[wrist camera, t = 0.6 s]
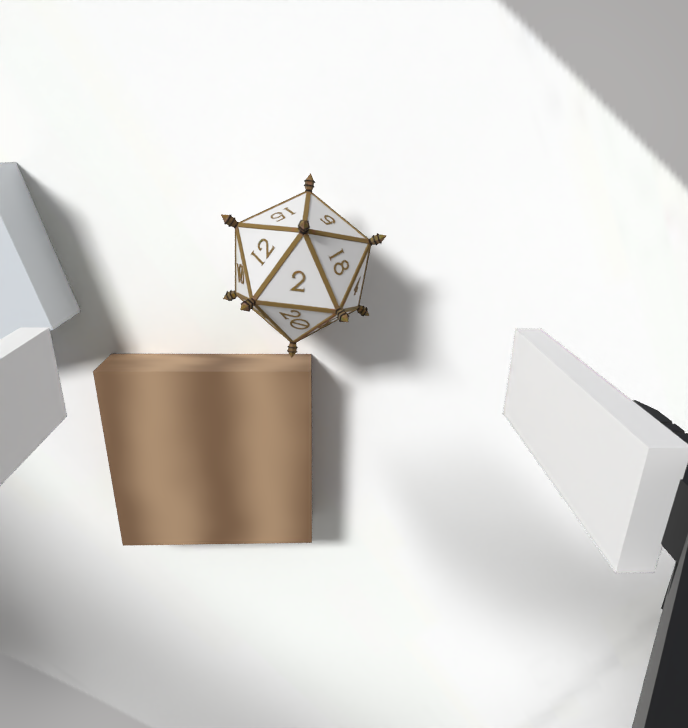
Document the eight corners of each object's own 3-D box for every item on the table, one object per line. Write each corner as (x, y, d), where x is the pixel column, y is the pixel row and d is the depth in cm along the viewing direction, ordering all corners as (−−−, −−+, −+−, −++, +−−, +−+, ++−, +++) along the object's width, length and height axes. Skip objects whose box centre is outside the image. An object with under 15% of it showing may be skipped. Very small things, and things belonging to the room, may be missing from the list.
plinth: (136, 517, 39) (122, 545, 36) (111, 353, 34) (93, 371, 31) (312, 515, 40) (311, 542, 37) (311, 354, 35) (310, 371, 32)
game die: (333, 252, 36) (420, 340, 30) (221, 308, 34) (291, 414, 28) (309, 127, 29) (416, 210, 23) (167, 188, 27) (245, 296, 21)
